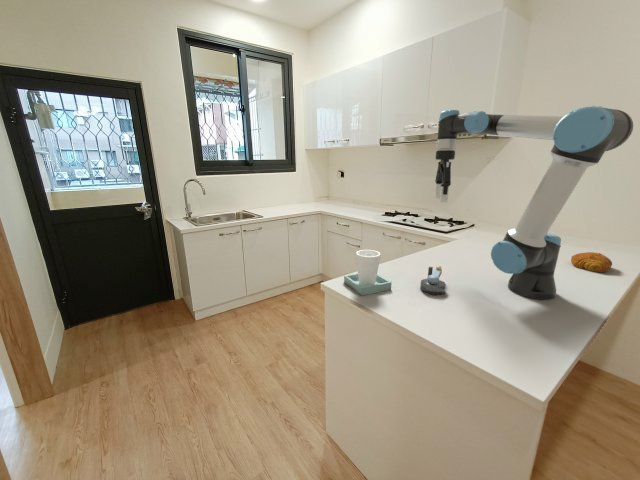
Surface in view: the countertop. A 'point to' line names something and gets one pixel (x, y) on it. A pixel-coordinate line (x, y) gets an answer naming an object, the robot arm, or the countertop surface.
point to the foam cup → (367, 266)
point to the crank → (435, 276)
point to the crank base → (432, 286)
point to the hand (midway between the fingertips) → (440, 200)
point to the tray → (379, 286)
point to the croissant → (591, 261)
